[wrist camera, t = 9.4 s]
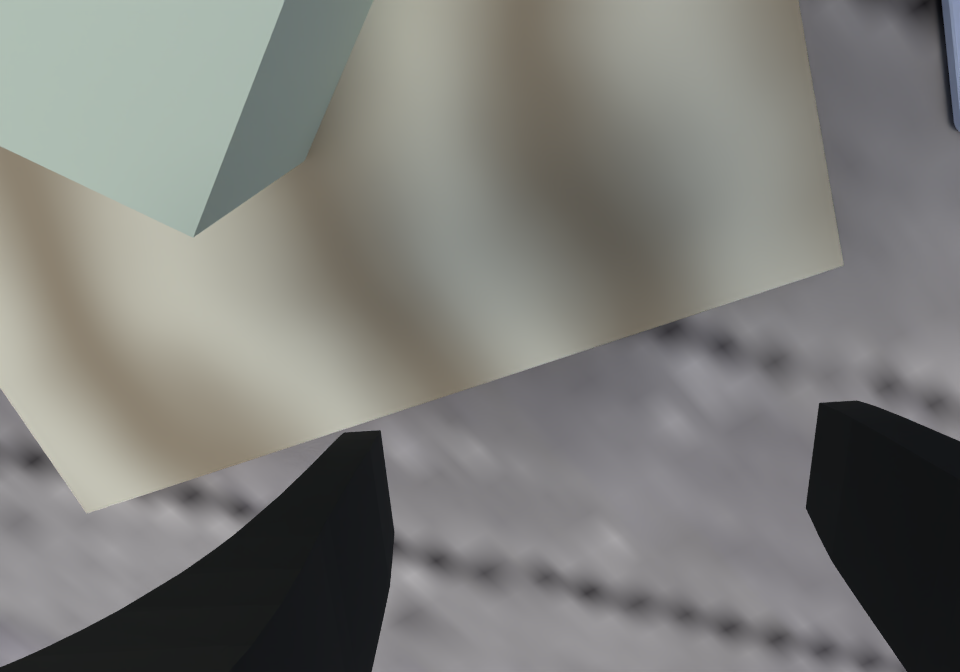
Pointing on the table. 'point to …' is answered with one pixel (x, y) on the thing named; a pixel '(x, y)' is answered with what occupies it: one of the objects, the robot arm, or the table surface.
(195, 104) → the carton
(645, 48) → the shelf board
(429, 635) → the table surface
